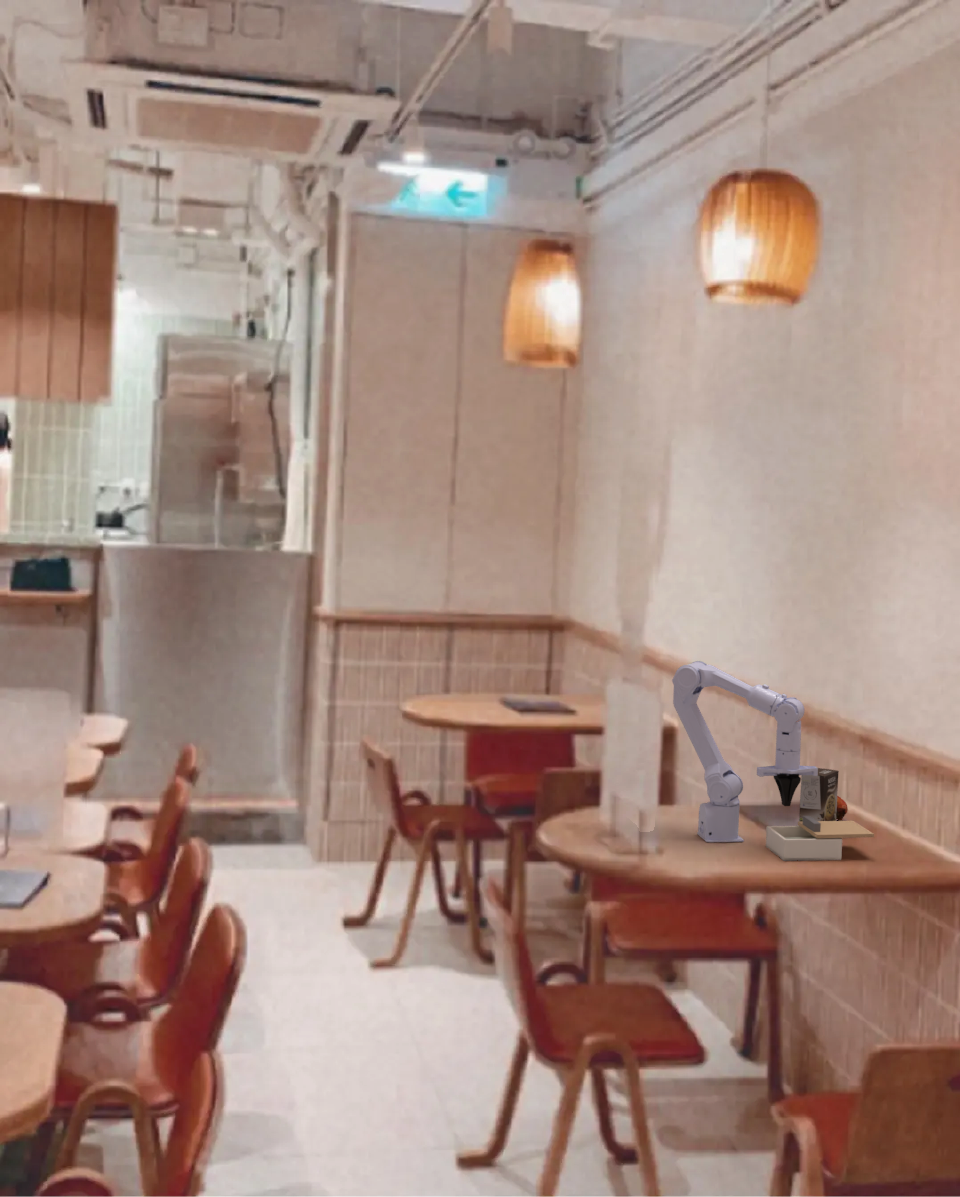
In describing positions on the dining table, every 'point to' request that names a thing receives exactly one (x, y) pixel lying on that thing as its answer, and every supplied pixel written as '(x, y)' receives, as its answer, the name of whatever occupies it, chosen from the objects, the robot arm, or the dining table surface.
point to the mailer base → (801, 844)
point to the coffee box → (819, 795)
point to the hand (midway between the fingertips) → (786, 805)
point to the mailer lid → (834, 828)
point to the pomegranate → (841, 808)
